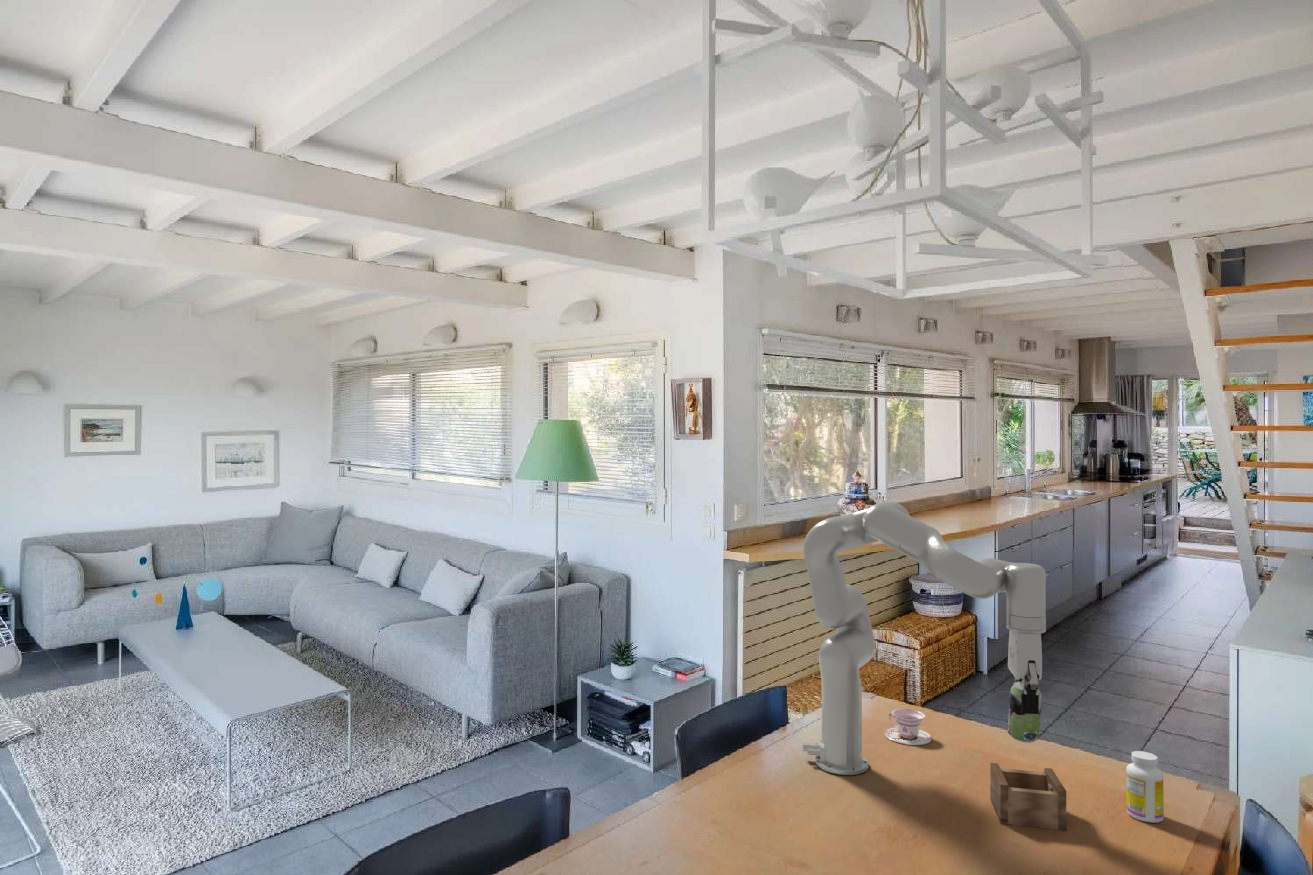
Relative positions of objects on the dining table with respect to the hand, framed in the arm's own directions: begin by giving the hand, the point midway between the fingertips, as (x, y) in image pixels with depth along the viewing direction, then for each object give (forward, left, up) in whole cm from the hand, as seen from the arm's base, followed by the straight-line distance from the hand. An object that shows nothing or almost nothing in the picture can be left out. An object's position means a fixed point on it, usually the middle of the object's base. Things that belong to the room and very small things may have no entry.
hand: (1026, 706), depth 163 cm
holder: (0, 0, -23) cm, 23 cm away
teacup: (-21, +38, -23) cm, 49 cm away
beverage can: (0, 0, -7) cm, 7 cm away
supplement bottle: (+24, +5, -23) cm, 34 cm away
